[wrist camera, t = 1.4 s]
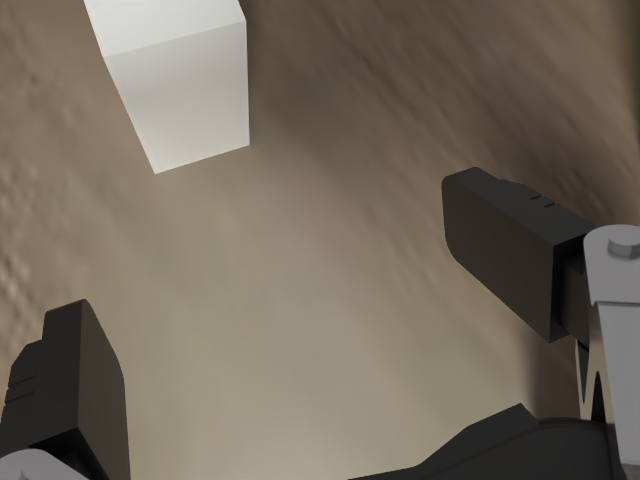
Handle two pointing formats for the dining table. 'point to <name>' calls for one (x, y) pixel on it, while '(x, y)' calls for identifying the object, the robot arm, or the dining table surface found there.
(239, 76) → the block
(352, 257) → the dining table surface
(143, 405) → the dining table surface
